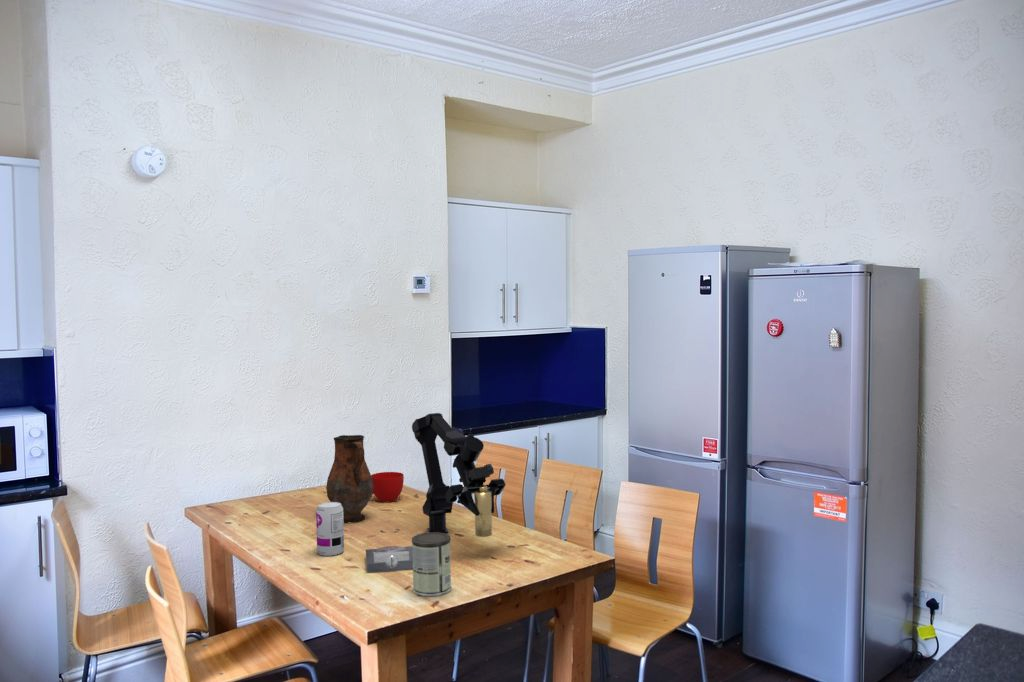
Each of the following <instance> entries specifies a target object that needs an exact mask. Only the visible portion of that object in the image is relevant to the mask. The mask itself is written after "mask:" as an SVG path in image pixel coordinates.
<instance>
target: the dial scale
mask: <svg viewBox="0 0 1024 682" xmlns="http://www.w3.org/2000/svg"><path fill="white" fill-rule="evenodd" d="M365 562H366V563H365V564H366V573H381V572H392V571H393V572H394V571H404V570H405V571H406V570H413V554H412V546H411V545H409V546H398V545H397V546H396V545H388V546H381V547H378V548H371V549H369V548H367V549H365Z"/></svg>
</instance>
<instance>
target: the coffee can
mask: <svg viewBox="0 0 1024 682" xmlns="http://www.w3.org/2000/svg"><path fill="white" fill-rule="evenodd" d="M411 545H412V554H413V569H412V582H413V583H412V585H413V587H412V592H413V593H414V594H416V595H417V596H420V597H437V596H443V595H446V594H448V593H450V591H452V580H451V579H452V578H451V577H452V576H451V573H452V570H451V569H452V568H451V565H452V564H451V535H450V534H448V533H438V532H429V533H428V532H422V533H418V534H416V535H413V536H412V537H411Z"/></svg>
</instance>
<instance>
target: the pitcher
mask: <svg viewBox="0 0 1024 682" xmlns="http://www.w3.org/2000/svg"><path fill="white" fill-rule="evenodd" d="M364 439H365V435H362V434H352V435H351V434H350V435H349V434H348V435H347V434H343V435H338V436H335V437H333V439H332V440H334V457H333V458H334V459H333V462H332V463H333V464H332V465H331V468H330V471H329V474H328V476H327V481H326V486H325V487H326V488H325V490H326V496H327V497H326V498H327V499H328V501H329V502H339V503H341V505H342V507H343V519H344V522H354V523H359V522H361V520H362V521H363V519H364V520H365V518H366V517H365V515H364V514H363V513H362V511H363V510H364V508H366V507H367V505H368V503H369V502H370V500H371V499H372V497H373V494H372V493H373V481H372V476H371V475H372V474H371V471H370V470H369V467H368V465H367V462H366V460H365V458H366V457H365V448H364ZM358 521H359V522H358Z"/></svg>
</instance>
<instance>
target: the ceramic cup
mask: <svg viewBox="0 0 1024 682" xmlns="http://www.w3.org/2000/svg"><path fill="white" fill-rule="evenodd" d="M371 476H372V481H373V493H372V495H374V496H375V498H376V499H377V500H378V501H379V502H381V503H391V502H395V501H396V500H397V499H398V498H399V497H400V494H401V493H402V492H403V487H404V481H405V480H404V478H405V476H404V474H403V473H402V472H399V471H398V472H397V471H382V472H377V473H373V474H371Z"/></svg>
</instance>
